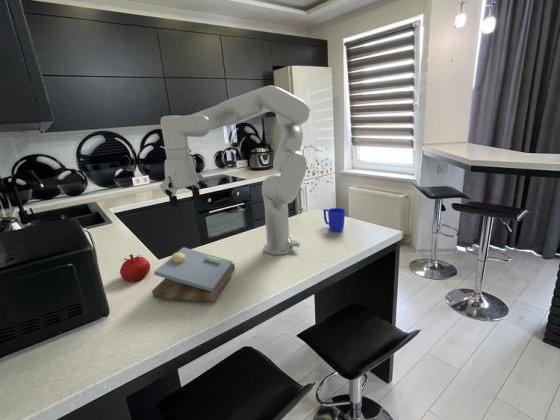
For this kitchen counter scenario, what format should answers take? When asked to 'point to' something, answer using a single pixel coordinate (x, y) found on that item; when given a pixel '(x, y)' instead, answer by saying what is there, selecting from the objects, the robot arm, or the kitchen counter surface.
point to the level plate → (194, 269)
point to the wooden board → (189, 289)
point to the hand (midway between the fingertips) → (186, 203)
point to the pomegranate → (134, 268)
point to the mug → (335, 218)
